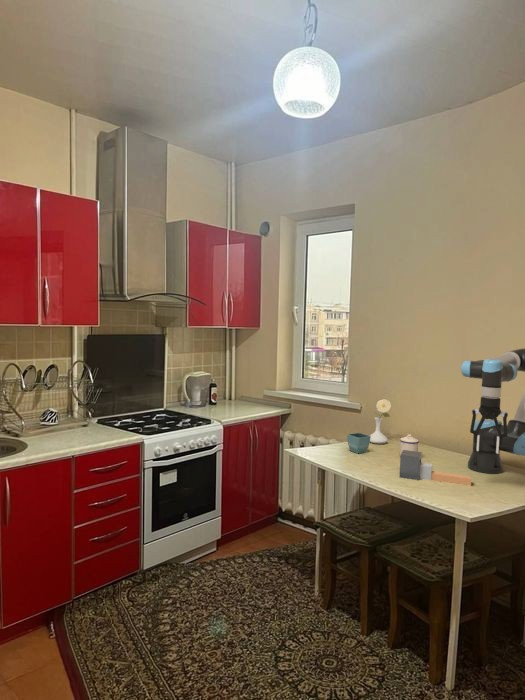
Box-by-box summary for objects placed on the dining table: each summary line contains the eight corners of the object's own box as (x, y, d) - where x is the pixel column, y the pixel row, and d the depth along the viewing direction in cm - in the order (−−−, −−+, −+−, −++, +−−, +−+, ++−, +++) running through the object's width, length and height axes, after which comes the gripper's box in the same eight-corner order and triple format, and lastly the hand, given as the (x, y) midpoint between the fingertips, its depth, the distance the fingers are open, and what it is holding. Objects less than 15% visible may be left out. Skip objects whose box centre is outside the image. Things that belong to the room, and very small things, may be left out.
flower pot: (370, 453, 259) (371, 436, 258) (358, 455, 254) (359, 437, 253) (358, 449, 266) (358, 432, 266) (345, 451, 261) (346, 434, 261)
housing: (420, 474, 226) (421, 452, 225) (418, 480, 217) (419, 457, 217) (402, 471, 229) (403, 449, 228) (399, 477, 220) (400, 454, 220)
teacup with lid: (421, 459, 250) (422, 436, 249) (404, 460, 248) (406, 436, 247) (409, 453, 261) (410, 431, 261) (393, 453, 259) (394, 431, 259)
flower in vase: (363, 442, 281) (365, 398, 280) (372, 439, 290) (374, 396, 288) (384, 446, 273) (386, 401, 271) (394, 443, 281) (396, 398, 280)
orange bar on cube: (471, 483, 216) (471, 469, 216) (471, 486, 211) (471, 472, 211) (417, 475, 224) (418, 462, 224) (416, 478, 220) (417, 465, 219)
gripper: (516, 397, 209) (512, 452, 210) (465, 393, 216) (462, 446, 218) (517, 400, 202) (514, 456, 203) (464, 396, 209) (461, 450, 211)
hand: (487, 451), depth 211 cm, fingers open, 7 cm apart
